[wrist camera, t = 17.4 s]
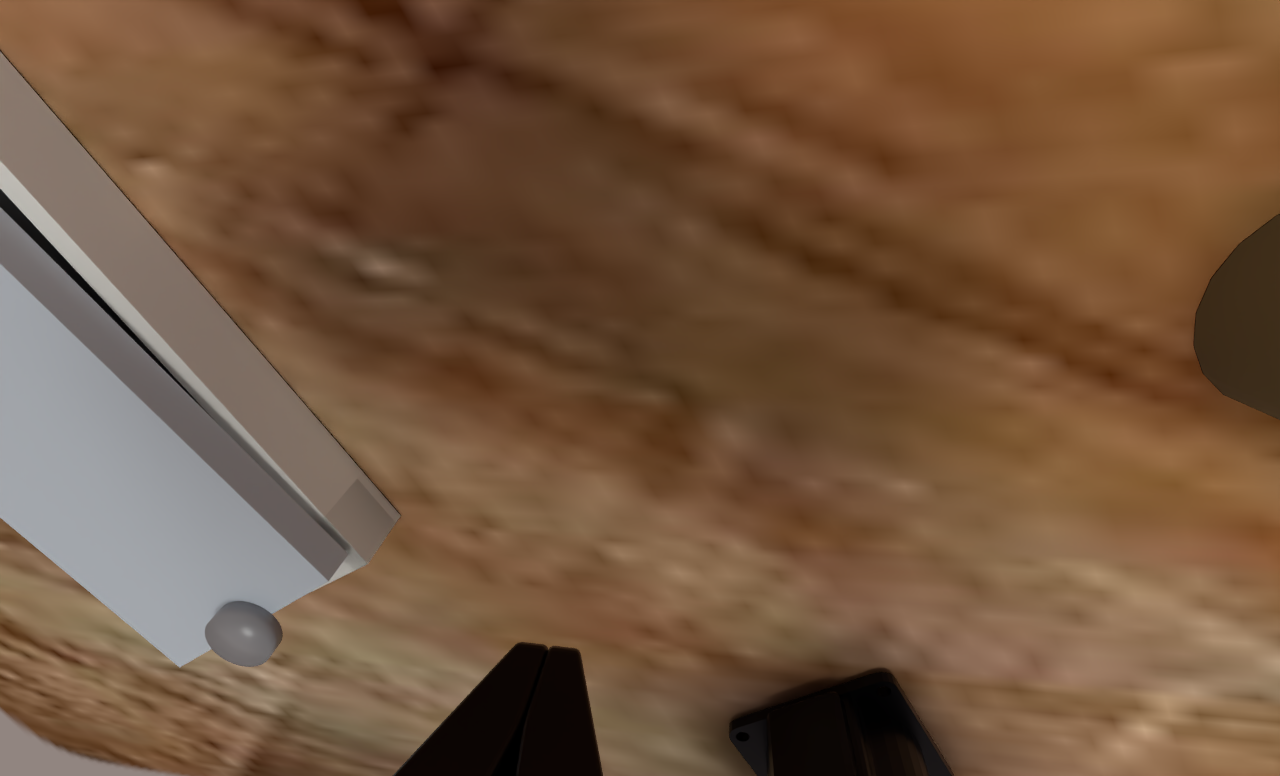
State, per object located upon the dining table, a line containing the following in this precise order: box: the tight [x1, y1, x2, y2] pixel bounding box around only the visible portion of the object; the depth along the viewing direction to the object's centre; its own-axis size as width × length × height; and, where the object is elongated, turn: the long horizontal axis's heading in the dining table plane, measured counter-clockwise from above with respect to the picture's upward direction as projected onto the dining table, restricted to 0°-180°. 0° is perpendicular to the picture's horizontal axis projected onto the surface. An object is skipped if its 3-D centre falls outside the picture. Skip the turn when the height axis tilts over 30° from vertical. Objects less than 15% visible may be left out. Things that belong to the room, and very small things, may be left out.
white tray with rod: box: [0, 52, 401, 594], centre depth 21 cm, size 19×7×2 cm, turn 32°
